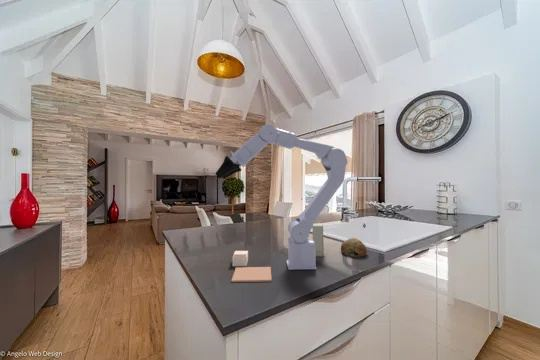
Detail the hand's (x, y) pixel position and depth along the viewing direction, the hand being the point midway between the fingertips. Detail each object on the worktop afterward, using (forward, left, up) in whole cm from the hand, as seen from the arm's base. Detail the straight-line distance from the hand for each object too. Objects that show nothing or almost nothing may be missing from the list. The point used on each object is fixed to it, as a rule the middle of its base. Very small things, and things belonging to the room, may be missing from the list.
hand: (219, 176), depth 78 cm
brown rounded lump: (-53, -13, -32) cm, 63 cm away
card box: (-7, -4, -32) cm, 33 cm away
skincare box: (-38, -12, -32) cm, 51 cm away
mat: (-12, +7, -32) cm, 35 cm away
